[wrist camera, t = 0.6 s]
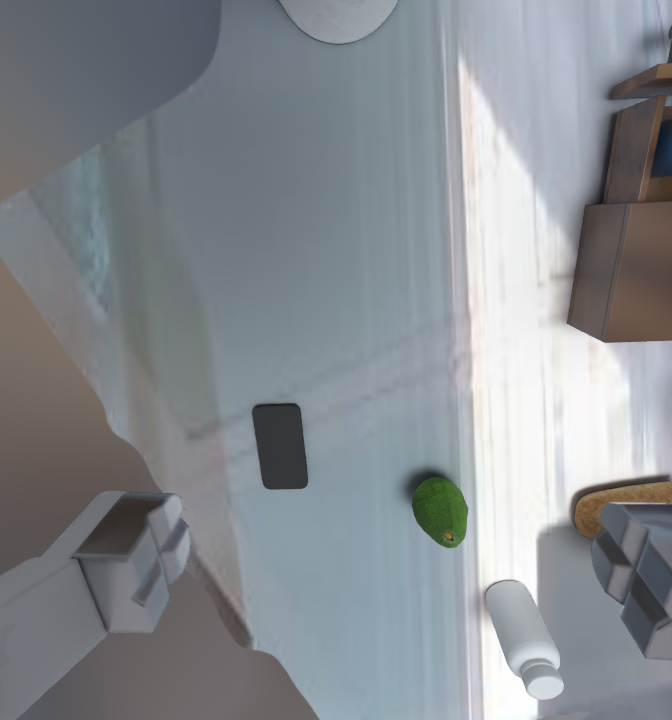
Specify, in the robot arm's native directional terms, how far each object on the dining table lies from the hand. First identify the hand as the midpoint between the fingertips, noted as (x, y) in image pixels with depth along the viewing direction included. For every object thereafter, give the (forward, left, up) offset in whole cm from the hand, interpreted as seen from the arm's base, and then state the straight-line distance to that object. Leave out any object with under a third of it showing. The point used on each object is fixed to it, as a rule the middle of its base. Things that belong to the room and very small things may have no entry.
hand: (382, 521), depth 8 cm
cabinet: (+2, +34, -47) cm, 58 cm away
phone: (+28, -13, -47) cm, 56 cm away
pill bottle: (+60, +25, -47) cm, 80 cm away
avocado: (+36, +11, -47) cm, 60 cm away
